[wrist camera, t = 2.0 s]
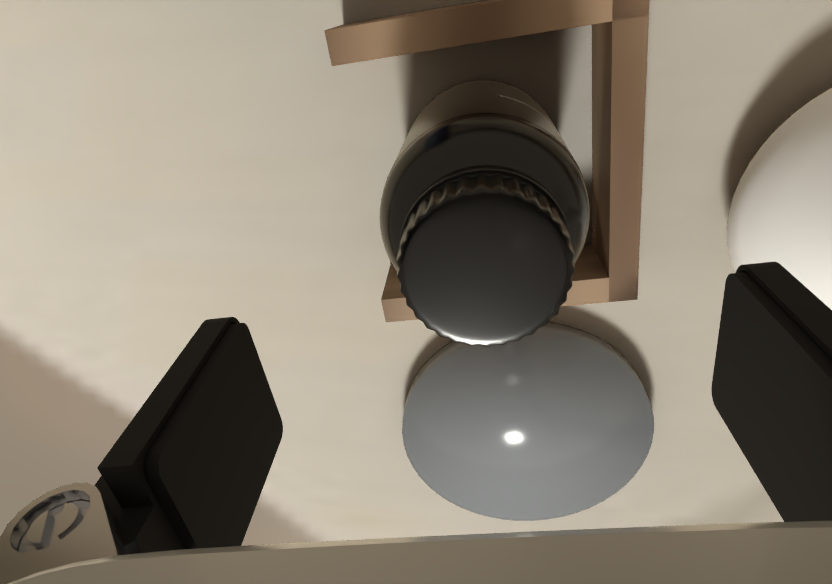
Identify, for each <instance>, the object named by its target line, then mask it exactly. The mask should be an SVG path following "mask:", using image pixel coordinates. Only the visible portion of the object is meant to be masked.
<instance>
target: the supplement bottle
mask: <svg viewBox="0 0 832 584" xmlns="http://www.w3.org/2000/svg"><path fill="white" fill-rule="evenodd" d="M589 220H590V206H589V197H588V193H587V188H586V185H585V182H584V179H583V176H582V174H581V172H580V169H579V167H578V165H577V163H576V162H575V160H574V158H573V156H572V155H571V153H570V151H569V150H568V148H567V146H566V145H565V143H564V141H563V140H562V138H561V136H560V134H559V133H558V131H557V129H556V128H555V126H554V124H553V123H552V121H551V119H550V118H549V116H548V115H547V113H546V112H545V111H544V109H543V108H542V107H541V106H540V105H539V104H538V103H537V101H535V100H534V99H533V98H532V97H531V96H529V95H528V94H527V93H525V92H524V91H522V90H520V89H518V88H516V87H514V86H512V85H509V84H506V83H502V82H497V81H489V80H478V81H470V82H466V83H462V84H459V85H456V86H454V87H451V88H449V89H447V90H446V91H444V92H442V93H441V94H439V95H438V96H436V97H435V98H434V99H433V100H432V101H431V102H429V103H428V104H427V105H426V107H425V108H424V109H423V110H422V111H421V113H420V114H419V115H418V117H417V118H416V120H415V122H414V123H413V125H412V127H411V129H410V131H409V133H408V135H407V137H406V140H405V142H404V144H403V146H402V148H401V150H400V152H399V154H398V157H397V159H396V161H395V163H394V165H393V167H392V169H391V171H390V174H389V176H388V178H387V181H386V184H385V187H384V191H383V195H382V199H381V206H380V229H381V234H382V239H383V243H384V246H385V249H386V252H387V254H388V257H389V259H390V260H391V262H392V264H393V266H394V267H395V269H396V271H397V278H398V280H399V282H400V283H401V284H400V292H401V293H402V294H403V295H404V296H405V298H406V304H407V306H408V307H409V308H411V309H412V310H413V312H414V315H415V317H416V318H417V319H419V320H421V321H423V323H424V324H425V326H426V327H427V328H428V329H431V330H434V331H435V332H436V333H437V334H438V335H439V336H440V337H446V338H449V339H450V340H451V341H453V342H454V343H465V344H466V345H468V346H476V345H481V346H484V347H489V346H492V345H505V344H507V343H509V342H512V341H513V342H516V341H519V340H521V339H522V338H523V337H525V336H529V335H533V334H534V333H535V332H536V331H537V330H538V329H539V328H541V327H544V326H546V325H547V324H548V322H549V320H550V319H551V318H552V317H554V316H555V315H557V314H558V312H559V309H560V306H561V305H562V304H564V303H565V302H566V301H567V292H568V291H569V290H570V289H571V287H572V285H573V283H572V275H573V274H574V272H575V263H576V262H577V260H578V258H579V256H580V254H581V252H582V250H583V247H584V244H585V241H586V237H587V233H588V228H589Z"/></svg>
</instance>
